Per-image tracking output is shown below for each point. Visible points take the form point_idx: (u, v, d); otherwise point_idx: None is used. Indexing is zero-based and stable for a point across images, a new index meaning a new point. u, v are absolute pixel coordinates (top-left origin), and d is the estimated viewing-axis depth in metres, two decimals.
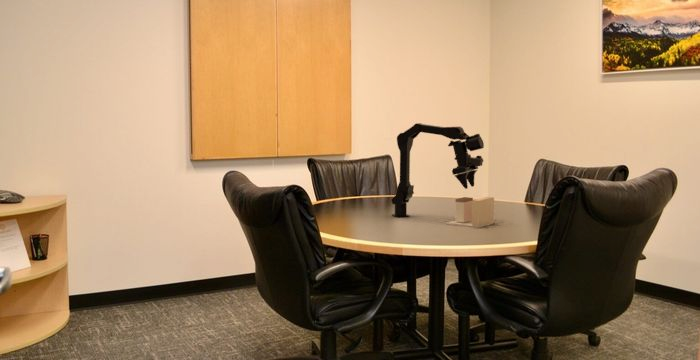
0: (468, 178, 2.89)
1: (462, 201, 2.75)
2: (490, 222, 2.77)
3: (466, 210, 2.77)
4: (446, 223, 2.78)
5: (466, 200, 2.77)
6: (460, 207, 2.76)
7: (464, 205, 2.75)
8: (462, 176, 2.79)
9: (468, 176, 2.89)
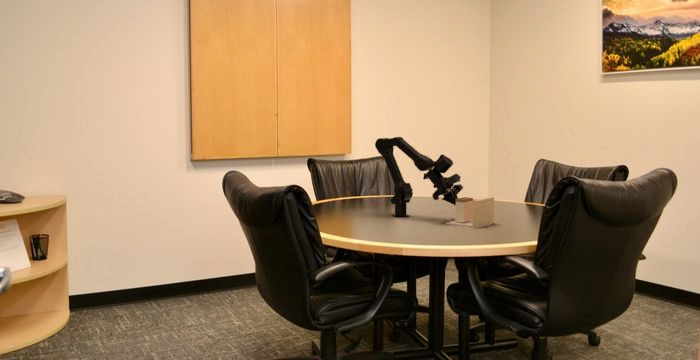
0: None
1: (462, 201, 2.75)
2: (490, 222, 2.77)
3: (466, 210, 2.77)
4: (446, 223, 2.78)
5: (466, 200, 2.77)
6: (460, 207, 2.76)
7: (464, 205, 2.75)
8: (450, 196, 2.82)
9: None
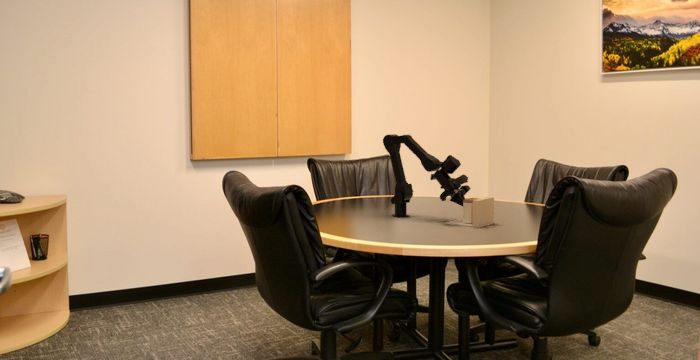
0: None
1: (470, 202, 2.73)
2: (490, 222, 2.77)
3: None
4: (446, 223, 2.78)
5: None
6: (468, 207, 2.74)
7: (471, 206, 2.73)
8: (457, 198, 2.80)
9: None
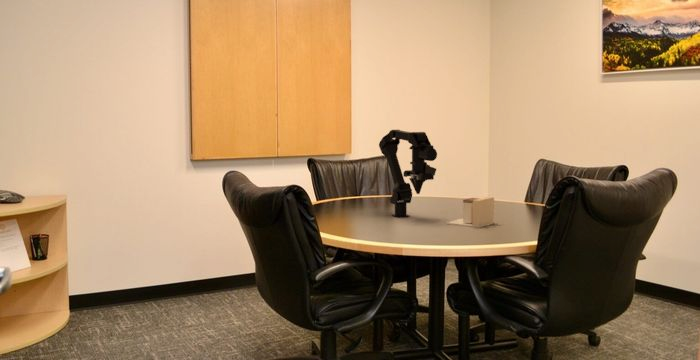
0: None
1: (470, 202, 2.73)
2: (490, 222, 2.77)
3: None
4: (446, 223, 2.78)
5: None
6: (468, 207, 2.74)
7: (471, 206, 2.73)
8: (419, 181, 2.86)
9: None
